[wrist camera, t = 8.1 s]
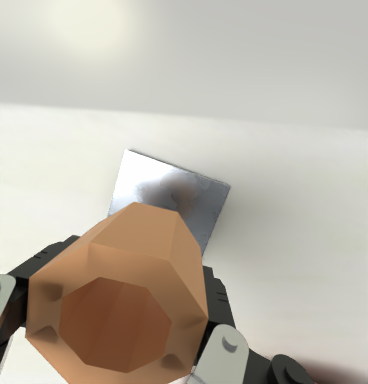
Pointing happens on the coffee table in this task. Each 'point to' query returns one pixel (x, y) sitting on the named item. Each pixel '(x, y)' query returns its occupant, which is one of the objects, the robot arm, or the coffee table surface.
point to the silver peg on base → (170, 192)
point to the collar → (122, 301)
